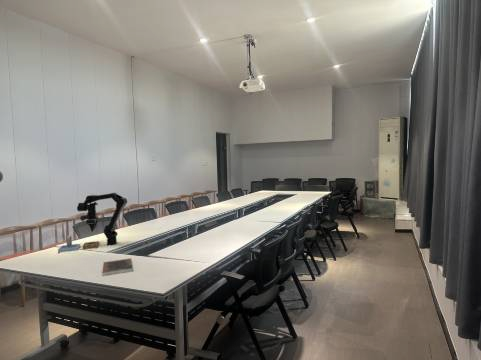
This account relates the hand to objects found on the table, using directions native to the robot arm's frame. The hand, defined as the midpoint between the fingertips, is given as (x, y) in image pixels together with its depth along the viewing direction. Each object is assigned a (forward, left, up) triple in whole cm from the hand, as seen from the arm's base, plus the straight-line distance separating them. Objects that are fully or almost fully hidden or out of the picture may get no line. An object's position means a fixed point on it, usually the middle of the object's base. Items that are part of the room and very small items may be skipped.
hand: (93, 230), depth 250 cm
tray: (+16, +8, -12) cm, 22 cm away
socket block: (+1, +8, -12) cm, 14 cm away
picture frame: (-23, +69, -13) cm, 74 cm away
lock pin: (+16, +8, -11) cm, 21 cm away
